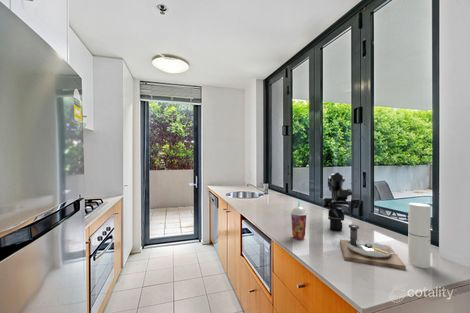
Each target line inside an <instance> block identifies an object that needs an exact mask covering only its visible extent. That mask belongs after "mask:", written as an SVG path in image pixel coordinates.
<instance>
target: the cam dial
mask: <svg viewBox="0 0 470 313" xmlns="http://www.w3.org/2000/svg"><path fill="white" fill-rule="evenodd" d="M348 228H349V234H350V235H349V240H350V241H349V242H348V248H349V249H350V250H351V251H352V252H354V253H357V254H359V255H362V256H366V257H371V258H388V257H390V256H391V250H390V249H389V248H388V247H386V246H384V245H385V244H381V243H378V242H375V241H370V240H364V239H358V230H359V229H360V226H359V225H357V224H348Z"/></svg>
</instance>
